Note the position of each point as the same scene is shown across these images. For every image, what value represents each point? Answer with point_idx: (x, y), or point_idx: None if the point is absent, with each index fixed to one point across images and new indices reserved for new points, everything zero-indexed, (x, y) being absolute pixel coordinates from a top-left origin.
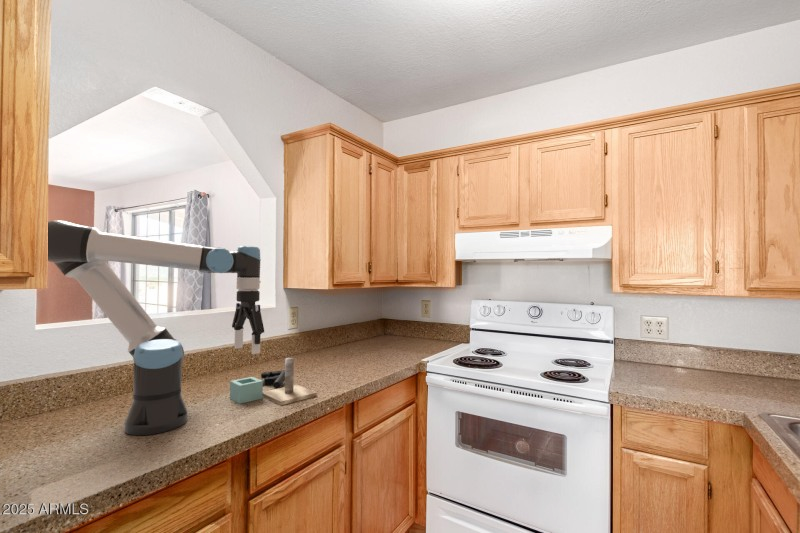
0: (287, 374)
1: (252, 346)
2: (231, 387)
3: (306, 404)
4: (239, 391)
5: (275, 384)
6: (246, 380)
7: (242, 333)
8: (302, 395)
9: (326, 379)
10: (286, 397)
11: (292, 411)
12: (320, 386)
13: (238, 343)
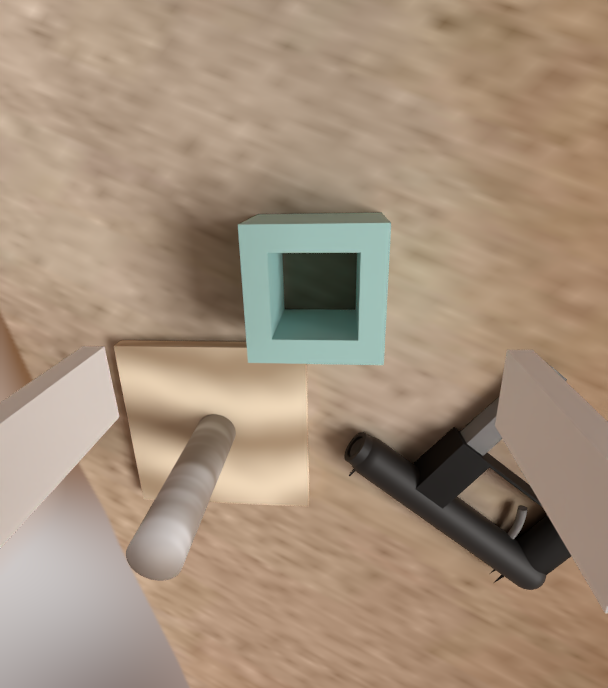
0: (171, 474)
1: (34, 382)
2: (365, 219)
3: None
4: (248, 220)
5: (360, 445)
6: (358, 314)
7: (575, 548)
8: (140, 445)
9: (325, 619)
10: (154, 389)
11: (25, 337)
12: (254, 559)
13: (523, 410)
